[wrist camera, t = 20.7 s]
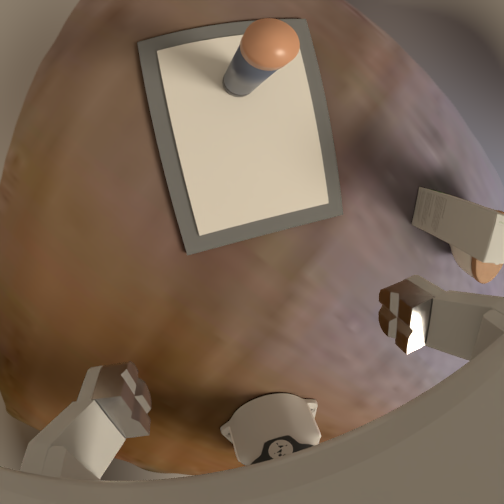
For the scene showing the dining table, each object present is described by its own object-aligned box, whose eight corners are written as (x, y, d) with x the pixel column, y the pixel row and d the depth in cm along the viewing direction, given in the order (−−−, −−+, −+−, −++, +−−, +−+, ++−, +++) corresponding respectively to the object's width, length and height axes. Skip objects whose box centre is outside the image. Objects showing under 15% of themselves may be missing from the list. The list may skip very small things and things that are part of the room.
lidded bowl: (433, 221, 40) (482, 243, 30) (472, 187, 40) (517, 201, 30) (444, 276, 45) (484, 303, 35) (479, 240, 45) (518, 260, 35)
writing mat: (340, 213, 36) (344, 215, 35) (187, 253, 34) (187, 256, 33) (304, 20, 26) (306, 18, 26) (138, 44, 24) (136, 41, 23)
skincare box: (448, 194, 39) (521, 219, 25) (440, 231, 42) (509, 266, 27) (416, 185, 37) (498, 210, 23) (408, 227, 40) (485, 265, 25)
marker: (258, 95, 28) (305, 63, 16) (225, 100, 28) (250, 68, 16) (252, 64, 27) (293, 17, 15) (218, 69, 26) (238, 20, 14)
